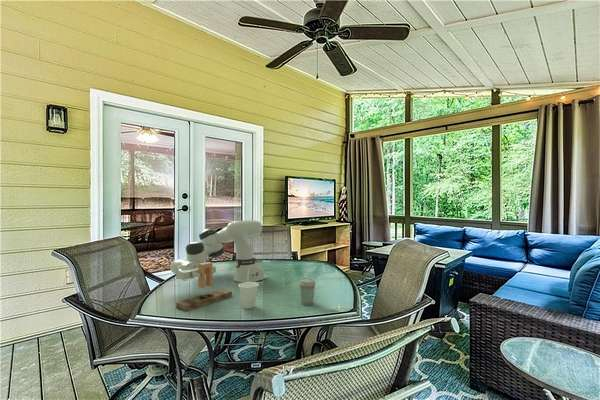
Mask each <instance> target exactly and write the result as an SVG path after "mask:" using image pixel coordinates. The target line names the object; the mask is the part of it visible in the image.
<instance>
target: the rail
mask: <svg viewBox="0 0 600 400" xmlns="http://www.w3.org/2000/svg"><path fill="white" fill-rule="evenodd" d="M230 297H233V291H231V290H228V289H224V288H221V289H218V290H214V291H211V292H207V293H203V294H200V295H196V296H195V297H190V298H187V299H183V300H180V301H177V302H175V304H176V305H175V308H176V309H179V310H181V311H184V312H188V311H191V310H194V309H198V308H200V307H203V306H207V305H210V304H212V303H215V302H218V301H222V300H224V299H228V298H230Z"/></svg>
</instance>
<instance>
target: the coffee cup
mask: <svg viewBox="0 0 600 400" xmlns="http://www.w3.org/2000/svg"><path fill="white" fill-rule="evenodd" d="M298 285H299V294H300V295H299V296H300V304H301V305H303V306H312V305H314V295H315V288H316V281H315V279H314V278H307V277H305V278H301V279H299V283H298Z"/></svg>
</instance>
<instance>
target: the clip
mask: <svg viewBox="0 0 600 400" xmlns="http://www.w3.org/2000/svg"><path fill="white" fill-rule="evenodd" d="M212 265H213V262H211V261H205V263H200V264H198V273H201V277H197V278H198V280H197V281H198V283H197V284H198V286H197V287H198V288H200V289H205V288H206V286H208V287H212V286H213V274H212ZM205 268H206V275H205Z"/></svg>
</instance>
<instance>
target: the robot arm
mask: <svg viewBox="0 0 600 400" xmlns="http://www.w3.org/2000/svg"><path fill="white" fill-rule="evenodd" d="M262 231H263V224H262V223H261V221H259V220H251V219H250V220H235V221H231V222H229V223H228V224H227V225H226V226H225V227H223V228H222V229H221V230H219V231H217V230H216V229H213V228H204V229H203V230H202V231H201V232H200V233H199V234H198V237H199V240H200V241H192V242H189V243H188V244H187V245H186V246H185V252H186V259H179V258H178V259H174V260H172V262H171V263H170V271H171V273H173V274H174V275H175V278H176V280H189V279H191V280H192V279H195V278H198V277H201V273H198V264H200V263H205V262H207V260H208V258H212V259H216V258H220V257H222V256H223V255H224V253H225V251H226V250H225V247H224V246H223V243H225V244H226V243H231V242H233V243H234V245H235V260H234V261H235V262H234V263H235V265H234V266H235V271H234V276H233V281H234V282H238V283H244V282H259V281H262V280H266V279H268V275H267V274H265V271H264V268H263V267H261V265H259V264H258V263H256V262H258V261H259V258H257V257H256V258H255V257H254V246H253V245H252V244H251V243H250V242H249V241H248V238H253V237H256V236H259V235H260V234H261V233H262ZM216 270H217V267H216V265H213V264H212V275H213V274H215V273H216ZM205 276H206V268H205Z"/></svg>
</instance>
